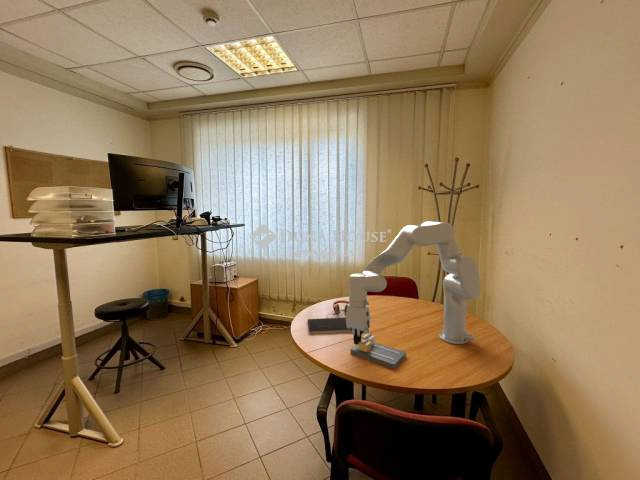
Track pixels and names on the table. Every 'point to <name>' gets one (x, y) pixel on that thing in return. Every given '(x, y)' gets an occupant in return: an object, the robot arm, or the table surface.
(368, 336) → the white fader
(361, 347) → the amber fader
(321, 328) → the hardcover book
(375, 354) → the mixer console
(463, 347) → the table surface
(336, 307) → the headphones
